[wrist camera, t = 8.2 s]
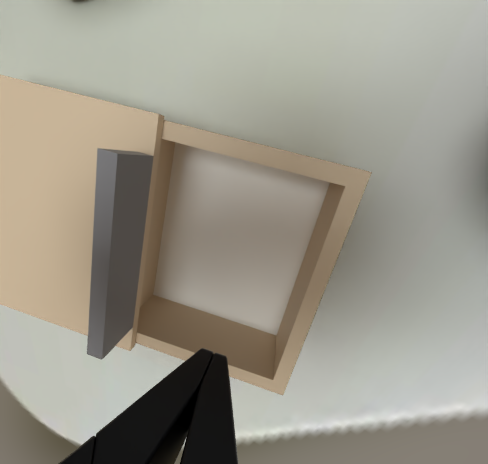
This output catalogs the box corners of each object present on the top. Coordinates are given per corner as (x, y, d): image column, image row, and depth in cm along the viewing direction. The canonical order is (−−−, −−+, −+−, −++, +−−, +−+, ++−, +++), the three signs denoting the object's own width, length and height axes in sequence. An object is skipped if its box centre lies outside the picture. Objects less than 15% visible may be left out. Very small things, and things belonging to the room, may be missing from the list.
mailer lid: (164, 116, 13) (121, 99, 10) (135, 345, 18) (99, 386, 15) (-51, 62, 15) (-152, 32, 11) (-24, 288, 20) (-89, 314, 16)
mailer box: (348, 170, 17) (371, 172, 12) (284, 345, 22) (282, 395, 17) (167, 124, 18) (125, 110, 14) (144, 298, 23) (107, 332, 19)
